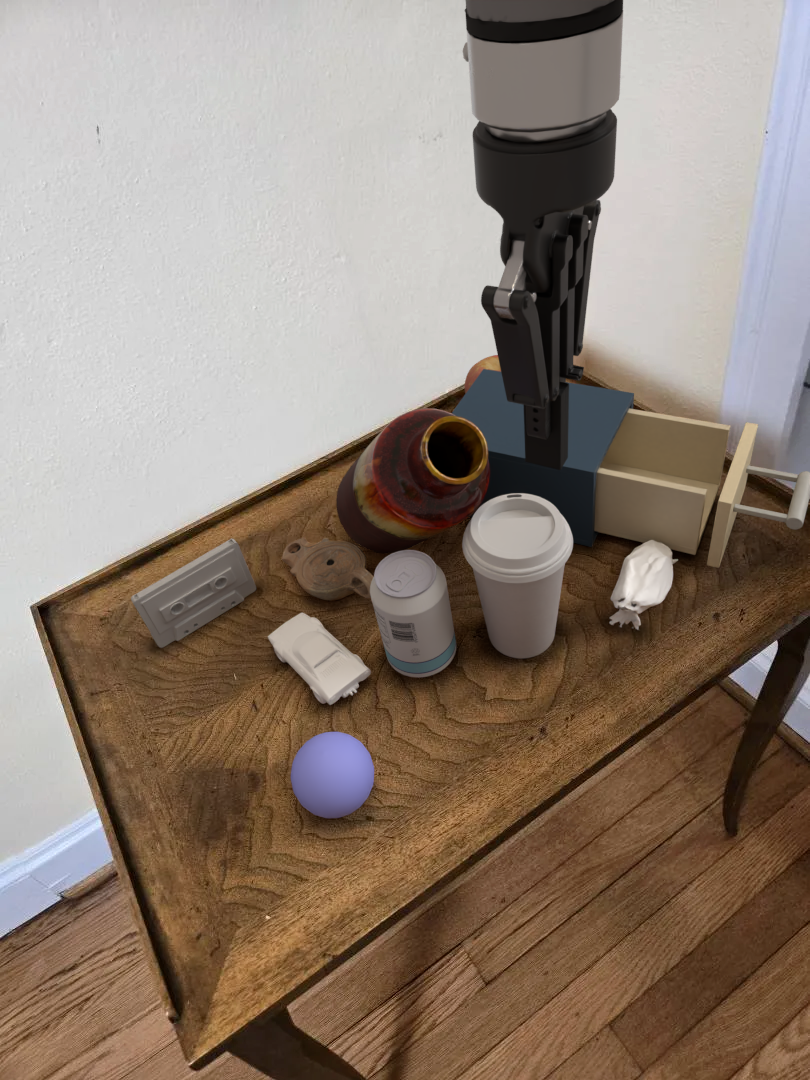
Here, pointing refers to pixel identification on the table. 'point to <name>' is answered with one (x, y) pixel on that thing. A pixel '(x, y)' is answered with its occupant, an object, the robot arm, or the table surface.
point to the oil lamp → (328, 568)
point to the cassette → (195, 593)
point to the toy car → (318, 658)
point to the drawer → (681, 483)
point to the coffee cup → (518, 570)
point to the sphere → (332, 774)
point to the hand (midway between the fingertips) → (546, 459)
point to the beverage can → (413, 613)
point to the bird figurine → (642, 581)
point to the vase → (414, 481)
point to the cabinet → (566, 489)
